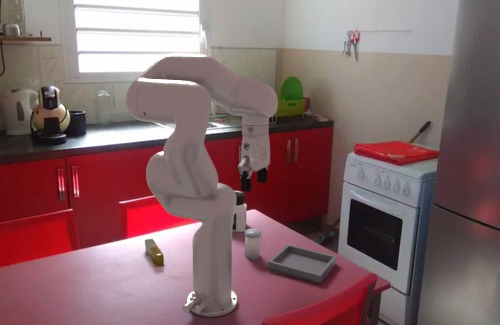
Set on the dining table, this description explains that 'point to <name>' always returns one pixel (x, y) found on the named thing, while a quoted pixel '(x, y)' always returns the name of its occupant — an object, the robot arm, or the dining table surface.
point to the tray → (302, 263)
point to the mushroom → (252, 243)
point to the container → (239, 213)
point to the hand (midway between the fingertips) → (254, 186)
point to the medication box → (154, 252)
